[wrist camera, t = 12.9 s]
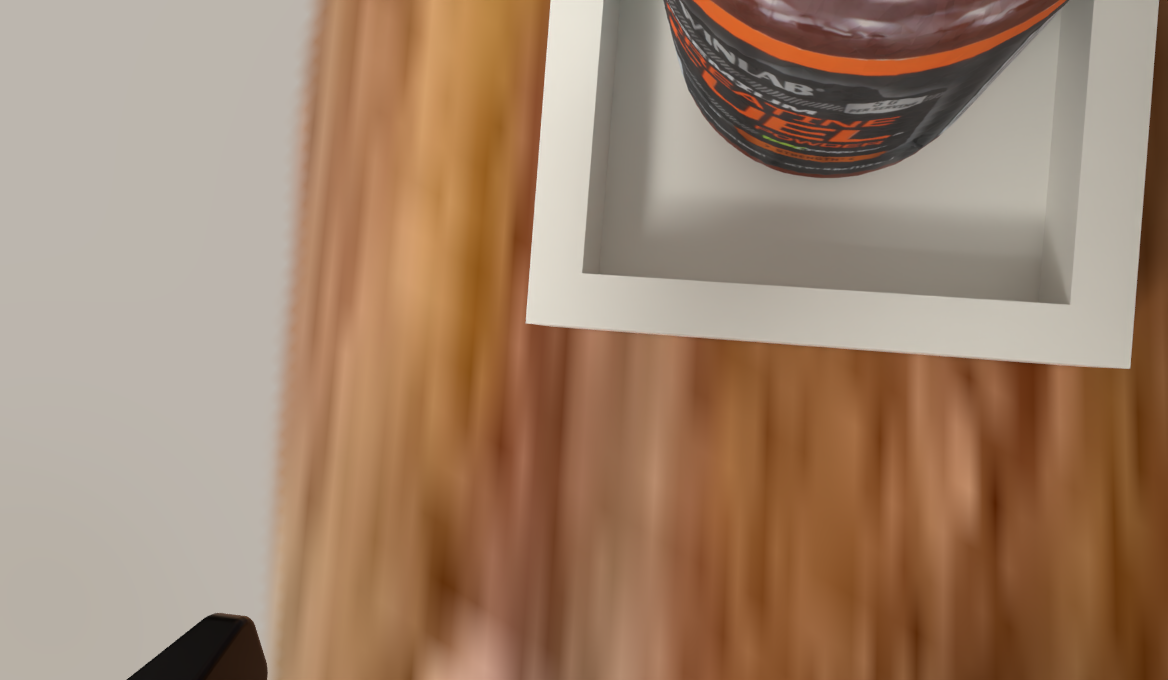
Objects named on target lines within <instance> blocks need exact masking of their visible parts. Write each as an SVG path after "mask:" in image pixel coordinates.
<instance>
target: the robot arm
mask: <svg viewBox="0 0 1168 680" xmlns="http://www.w3.org/2000/svg"><path fill="white" fill-rule="evenodd" d="M267 674H268V672H267V663H266V660H265V656H264V653H263V650H262V647H261V644H260V640H259V637H258V634H257V631H256V627H255V625H254V622H253V621H252V620H251V619H250V618H249V617H247V616H240V615H232V614H224V613H215V614H212V615H210V616H207V617H206V618H204V619H203V620H201V622H199V623H198V624H196V625H195V626H194V627H193V628H191V629H190V630H189V631H188V632H186V633H185V634H184V635H183V636H181V637H180V638H179V639H177V640H176V641H175V642H174V643H172V644H171V645H170V646H169V647H167V648H166V649H165V650H164V651H162V652H161V653H160V654H158V655H157V656H156V657H155V658H154V659H152V660H151V661H150V662H148V663H147V664H146V665H145V666H143V667H142V668H141V669H140V670H138V671H137V672H136V673H134V674H133V675H132V676H131V677H129V678H128V679H127V680H267Z"/></svg>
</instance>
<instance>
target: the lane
mask: <svg viewBox="0 0 1168 680" xmlns="http://www.w3.org/2000/svg"><path fill="white" fill-rule="evenodd" d="M1158 7H1159V0H1069V1H1068V2H1067V3H1066V4H1065V6H1064V7H1063V8H1062V9H1061V10H1060V11H1059V12H1058V13H1057V14H1056V15H1055V16H1054V18H1053V19H1052V20H1051V21H1050V22H1049V23H1048V24H1047V25H1046V26H1045V27H1044V28H1043V29H1042V30H1041V31H1040V32H1039V33H1038V35H1037V36H1036V37H1035V38H1034V39H1033V40H1032V41H1031V42H1030V43H1029V44H1028V45H1027V46H1026V47H1025V48H1024V49H1023V50H1022V51H1021V53H1020V54H1019V55H1018V56H1017V57H1016V58H1015V59H1014V60H1013V61H1012V62H1011V63H1010V64H1009V65H1008V66H1007V67H1006V68H1005V69H1004V70H1003V72H1002V73H1001V74H1000V75H999V76H998V77H997V78H996V79H995V80H994V81H993V82H992V83H991V84H990V85H989V86H988V87H987V89H986V90H985V91H984V92H983V93H982V94H981V95H980V96H979V97H978V98H977V99H976V100H975V102H974V103H973V104H972V105H971V106H970V107H969V108H968V109H967V110H966V111H965V112H964V113H963V114H962V115H961V116H960V117H959V118H958V119H957V120H956V121H955V122H954V123H953V124H952V125H951V126H950V127H949V128H948V129H946V130H945V131H944V132H943V133H942V134H941V135H940V136H939V137H938V138H936V139H935V140H933V141H932V142H930V143H929V144H927V145H926V146H925V147H923V148H922V149H920V150H919V151H918V152H917V153H915V154H914V155H912V156H910V157H908V158H906V159H904V160H902V161H901V162H899V163H897V164H895V165H892V166H889V167H886V168H883V169H880V170H877V171H873V172H869V173H866V174H862V175H858V176H850V177H841V178H814V177H805V176H798V175H792V174H787V173H783V172H780V171H777V170H774V169H771V168H769V167H767V166H765V165H763V164H761V163H758V162H756V161H754V160H752V159H751V158H749V157H747V156H746V155H744V154H743V153H741V152H740V151H738V150H737V149H736V148H735V147H733V146H732V145H731V144H729V143H728V142H727V141H726V140H725V139H724V138H723V137H722V136H720V135H719V134H718V133H717V132H716V131H715V130H714V129H713V127H712V126H711V125H710V124H709V122H708V121H707V120H706V119H705V117H704V116H703V115H702V113H701V111H700V109H699V108H698V107H697V105H696V103H695V101H694V99H693V97H692V96H691V94H690V92H689V91H688V88H687V85H686V82H685V79H684V77H683V75H682V72H681V68H680V65H679V62H678V58H677V54H676V50H675V46H674V42H673V38H672V34H671V30H670V25H669V22H668V19H667V14H666V10H665V5H664V1H663V0H551V5H550V18H549V30H548V43H547V56H546V69H545V82H544V95H543V107H542V120H541V133H540V146H539V159H538V172H537V185H536V197H535V210H534V223H533V236H532V249H531V262H530V274H529V287H528V300H527V313H526V323H529V324H536V325H544V326H552V327H564V328H578V329H591V330H604V331H617V332H630V333H644V334H657V335H670V336H683V337H696V338H709V339H723V340H736V341H749V342H762V343H775V344H789V345H802V346H815V347H828V348H841V349H854V350H868V351H881V352H894V353H907V354H920V355H934V356H947V357H960V358H973V359H986V360H999V361H1013V362H1026V363H1039V364H1052V365H1065V366H1079V367H1100V368H1123V369H1130V364H1131V351H1132V339H1133V326H1134V313H1135V300H1136V288H1137V275H1138V262H1139V249H1140V237H1141V224H1142V211H1143V198H1144V186H1145V173H1146V160H1147V147H1148V135H1149V122H1150V109H1151V96H1152V84H1153V71H1154V58H1155V46H1156V33H1157V20H1158Z"/></svg>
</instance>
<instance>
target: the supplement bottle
mask: <svg viewBox="0 0 1168 680" xmlns="http://www.w3.org/2000/svg"><path fill="white" fill-rule="evenodd" d="M663 1H664V5H665V10H666V14H667V19H668V22H669V25H670V30H671V34H672V38H673V42H674V46H675V50H676V54H677V58H678V62H679V65H680V68H681V72H682V75H683V77H684V79H685V82H686V85H687V88H688V91H689V92H690V94H691V96H692V97H693V99H694V101H695V103H696V105H697V107H698V108H699V109H700V111H701V113H702V115H703V116H704V117H705V119H706V120H707V121H708V122H709V124H710V125H711V126H712V127H713V129H714V130H715V131H716V132H717V133H718V134H719V135H720V136H722V137H723V138H724V139H725V140H726V141H727V142H728V143H729V144H731V145H732V146H733V147H735V148H736V149H737V150H738V151H740V152H741V153H743V154H744V155H746V156H747V157H749V158H751V159H752V160H754V161H756V162H758V163H761V164H763V165H765V166H767V167H769V168H771V169H774V170H777V171H780V172H783V173H787V174H792V175H798V176H805V177H814V178H841V177H850V176H858V175H862V174H866V173H869V172H873V171H877V170H880V169H883V168H886V167H889V166H892V165H895V164H897V163H899V162H901V161H902V160H904V159H906V158H908V157H910V156H912V155H914V154H915V153H917V152H918V151H919V150H920V149H922V148H923V147H925V146H926V145H927V144H929V143H930V142H932V141H933V140H935V139H936V138H938V137H939V136H940V135H941V134H942V133H943V132H944V131H945V130H946V129H948V128H949V127H950V126H951V125H952V124H953V123H954V122H955V121H956V120H957V119H958V118H959V117H960V116H961V115H962V114H963V113H964V112H965V111H966V110H967V109H968V108H969V107H970V106H971V105H972V104H973V103H974V102H975V100H976V99H977V98H978V97H979V96H980V95H981V94H982V93H983V92H984V91H985V90H986V89H987V87H988V86H989V85H990V84H991V83H992V82H993V81H994V80H995V79H996V78H997V77H998V76H999V75H1000V74H1001V73H1002V72H1003V70H1004V69H1005V68H1006V67H1007V66H1008V65H1009V64H1010V63H1011V62H1012V61H1013V60H1014V59H1015V58H1016V57H1017V56H1018V55H1019V54H1020V53H1021V51H1022V50H1023V49H1024V48H1025V47H1026V46H1027V45H1028V44H1029V43H1030V42H1031V41H1032V40H1033V39H1034V38H1035V37H1036V36H1037V35H1038V33H1039V32H1040V31H1041V30H1042V29H1043V28H1044V27H1045V26H1046V25H1047V24H1048V23H1049V22H1050V21H1051V20H1052V19H1053V18H1054V16H1055V15H1056V14H1057V13H1058V12H1059V11H1060V10H1061V9H1062V8H1063V7H1064V6H1065V4H1066V3H1067V2H1068V1H1069V0H663Z"/></svg>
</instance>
